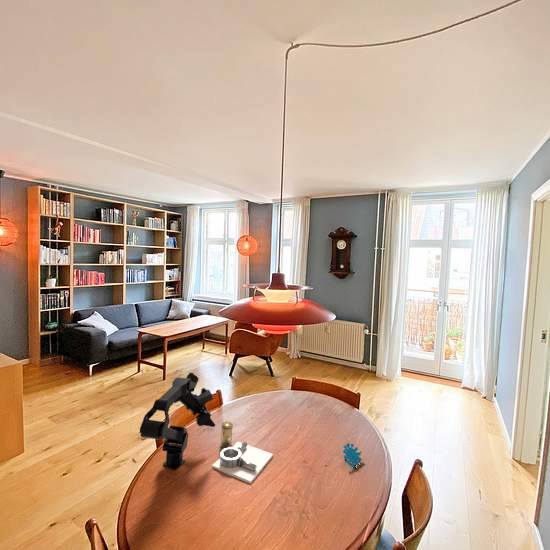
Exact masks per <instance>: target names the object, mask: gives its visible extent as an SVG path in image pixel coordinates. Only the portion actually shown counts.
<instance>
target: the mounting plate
mask: <svg viewBox="0 0 550 550" xmlns="http://www.w3.org/2000/svg"><path fill="white" fill-rule="evenodd" d="M242 443H243V442H241V441H237V442H235V444H233V446H232V447H234V448H238V447H239V446H240V445H241V444H242ZM273 457H274V454H273V453H271V452H267V451H265V450H262V449H259V448H257V447H254V446H251V445H249V444H247V447H246V448H245V449H244V450H243V451H242V452H241V458H242V459H243V460H244V461H247V462H250V463H252V464H255V465H257V468H256V470H255V472H254V471H251V470H249V469H246V468H244V467H241V466H240V467H238V466H237V467H234V468H226V467H223V466H222V465H221V464H220V458H218V459H217V460H216V462H214V463H213V464H212V466H211V468H212V469H214V470H217V471H219V472H221V473H223V474H226V475H229V476H231V477H234V478H235V479H238V480H241V481H243V482H245V483H248V484H250V485H251V484H252V483H253V482H254V481H255V479H256V478H257V477H258V476H259V474H260V473H261V472H262V471H263V470H264V468H265V467H266V465H267V464H268V463H269V462H270V461H271V459H273ZM226 458H235V457H226Z"/></svg>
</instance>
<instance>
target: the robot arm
mask: <svg viewBox="0 0 550 550" xmlns="http://www.w3.org/2000/svg"><path fill="white" fill-rule="evenodd" d="M198 383H199V377H198V376H197V375H196V374H195V373H194V372H189V373H188V374H187V375H186V376H185V377H179V376H177V377H175V379H174V380H172V383H171V384H172V385H171V387H170V388H169V389H168V390H167V391H165V393H163V395H161V397H159V398H158V399H155V400H154V402H153V405H152V407H151V409H149V410H148V411H147V413H146V414H145V415H144V416H143V420H142V422H141V423H140V427H139V434H140V437H141V438H145V439H153V440H158V441H159V440H164V442H163V444H162V447H161V448H162V451H163V452H166V455H165V456H166V457H165V461H164V462H163V463H162V465H163V466H164V467H165V468H166V467H167V468H169V469H171V470H173V471H174V470H176V469H178V468H179V467H181V466H182V465H183V464H184V463H185V462H186V460H185V459H183V457H184V451H185V450H186V448H187V446H188V441H189V433H188V430H187V429H188V427H183V426H179V425H177V426H176V425H169V424H170V421H171V420H170V416H169V415H170V414H169V411H170V408H171V406H172V405H173V404H176V403H178V402H179V403H180V404H182V405H183V406H184V407H185V409H186V410H187V411H190V412H191V413H192V415H193V416H195V423H196V425H197V426H198V427H203V426H205V427H212V428H215V426H216V423H215V422H214V421H213V419H212V418H211V416H212V414H211V411H209V410H208V408H207V406H206V404H207V403H209V402H211V401H213V400H214V396H213V394H212V393H211V390H210V389H208V388H205V387H202V388H201V389H200V393H199V394H198V395H197V394H194V393H193V392H195V389H196V388H197V384H198ZM158 411H159V412H163V413H164V417H165V419H164V421H160V420H154V419H153V420H152V419H151V418H152V417H153V416H154V415H155V414H156V413H157V412H158Z"/></svg>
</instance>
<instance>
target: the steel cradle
mask: <svg viewBox="0 0 550 550" xmlns="http://www.w3.org/2000/svg"><path fill="white" fill-rule="evenodd" d="M241 443H242V444H241V445H240V446H239V447H238V448H234V447H233V446H231V447H228V448H222V450H221V451H220V455H219V459H220V464H221V465H222V466H223V467H226V468H234V467H237V466H238V467H240V466H241V467H244V468H246V469H249V470H251V471H254V472H255V470H256V468H257V465H255V464H252V463H250V462H247V461H244V460H243V459H242V458H241V452H242V451H243V450H244V449H245V448H246V447H247V445H248V443H247V442H246V441H243V442H241ZM226 457H235V458H226Z"/></svg>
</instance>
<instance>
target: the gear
mask: <svg viewBox="0 0 550 550" xmlns="http://www.w3.org/2000/svg"><path fill="white" fill-rule="evenodd" d="M343 448H344V449H342V453H343V454H345V455H343V459H344V460H345V459H347V460H345V461H346V462H345V463H346V464H347V465H350V468H352V467H353V468H355V464H356V465H358V463H361V462H362V457H361V456H362V453H363V452H362V451H361V450H360V451H358V450H359V449H358V447H357V446H355V447H354V443H350V442H349V443H346V444H345V445H344V446H343ZM360 461H361V462H360ZM357 462H358V463H357ZM353 468H352V469H353Z"/></svg>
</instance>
